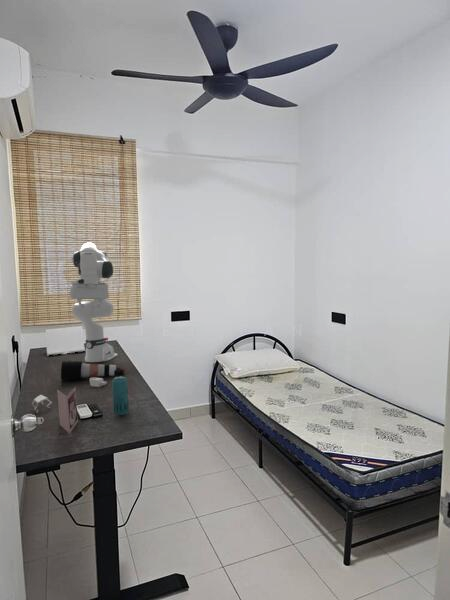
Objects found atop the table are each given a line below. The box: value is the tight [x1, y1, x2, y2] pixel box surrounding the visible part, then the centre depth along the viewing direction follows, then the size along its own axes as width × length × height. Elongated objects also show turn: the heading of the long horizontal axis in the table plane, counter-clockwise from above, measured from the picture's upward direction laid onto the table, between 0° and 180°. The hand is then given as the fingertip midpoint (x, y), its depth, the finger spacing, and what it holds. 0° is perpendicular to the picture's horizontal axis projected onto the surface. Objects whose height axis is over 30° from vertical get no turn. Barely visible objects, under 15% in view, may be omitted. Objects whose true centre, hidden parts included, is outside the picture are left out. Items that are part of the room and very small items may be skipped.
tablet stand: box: [45, 325, 86, 357], centre depth 289 cm, size 18×25×17 cm
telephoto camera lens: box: [60, 360, 126, 381], centre depth 227 cm, size 10×34×10 cm, turn 104°
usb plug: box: [89, 377, 108, 388], centre depth 212 cm, size 10×4×4 cm, turn 66°
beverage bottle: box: [111, 369, 130, 416], centre depth 170 cm, size 6×7×20 cm
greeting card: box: [56, 387, 79, 434], centre depth 160 cm, size 11×7×15 cm, turn 5°
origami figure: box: [31, 394, 53, 414], centre depth 183 cm, size 12×8×5 cm
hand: (90, 307), depth 214 cm, fingers open, 8 cm apart
